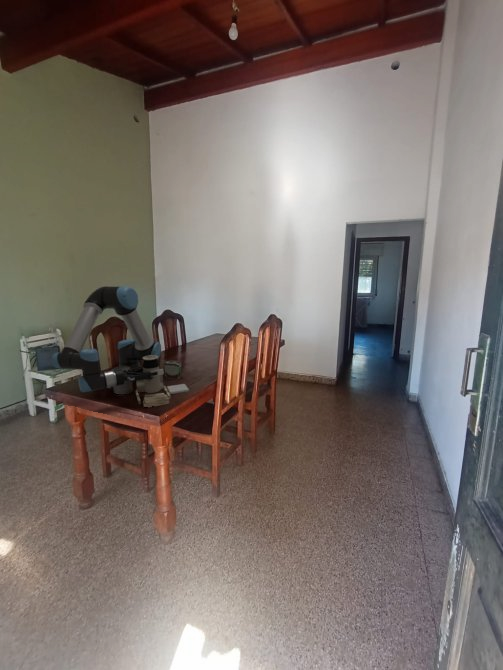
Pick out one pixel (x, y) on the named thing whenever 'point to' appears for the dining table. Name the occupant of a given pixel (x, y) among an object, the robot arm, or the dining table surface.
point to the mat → (177, 388)
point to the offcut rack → (153, 395)
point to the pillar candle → (124, 388)
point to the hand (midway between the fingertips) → (160, 369)
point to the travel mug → (154, 382)
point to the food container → (172, 369)
